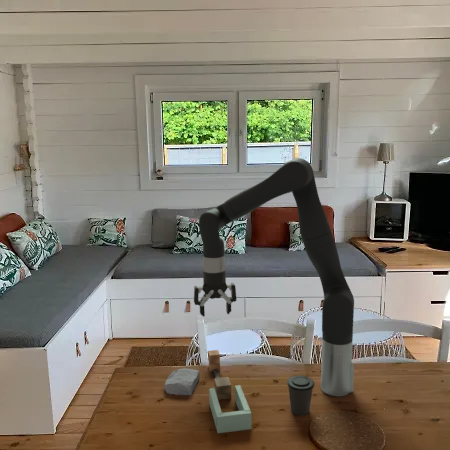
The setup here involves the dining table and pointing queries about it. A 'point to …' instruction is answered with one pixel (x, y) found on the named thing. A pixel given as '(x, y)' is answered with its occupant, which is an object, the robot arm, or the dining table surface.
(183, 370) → the stone block
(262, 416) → the dining table surface
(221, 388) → the wooden cube dumbbell
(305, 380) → the coffee cup
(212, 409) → the channel
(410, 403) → the dining table surface
